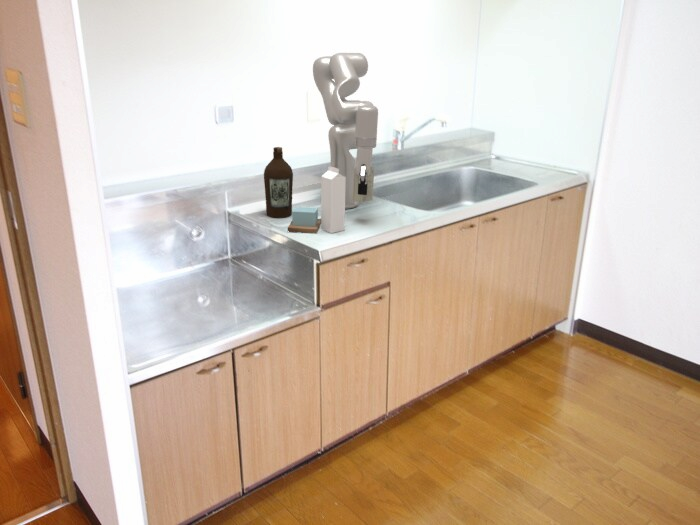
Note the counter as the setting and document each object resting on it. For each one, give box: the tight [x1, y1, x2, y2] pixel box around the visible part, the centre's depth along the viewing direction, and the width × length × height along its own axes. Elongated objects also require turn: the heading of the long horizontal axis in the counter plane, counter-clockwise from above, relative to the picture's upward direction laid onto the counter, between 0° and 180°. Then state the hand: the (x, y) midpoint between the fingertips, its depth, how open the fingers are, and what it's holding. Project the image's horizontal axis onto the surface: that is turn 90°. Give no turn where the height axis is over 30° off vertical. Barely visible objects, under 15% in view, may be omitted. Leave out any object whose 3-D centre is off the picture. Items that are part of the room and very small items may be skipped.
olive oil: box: [263, 146, 294, 219], centre depth 226 cm, size 11×11×25 cm
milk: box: [320, 165, 346, 234], centre depth 211 cm, size 6×6×22 cm
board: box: [287, 218, 321, 234], centre depth 216 cm, size 12×10×2 cm
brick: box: [291, 206, 319, 227], centre depth 215 cm, size 6×8×5 cm
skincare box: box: [353, 166, 375, 204], centre depth 219 cm, size 6×4×12 cm
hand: (363, 190), depth 220 cm, fingers closed on skincare box, 7 cm apart
